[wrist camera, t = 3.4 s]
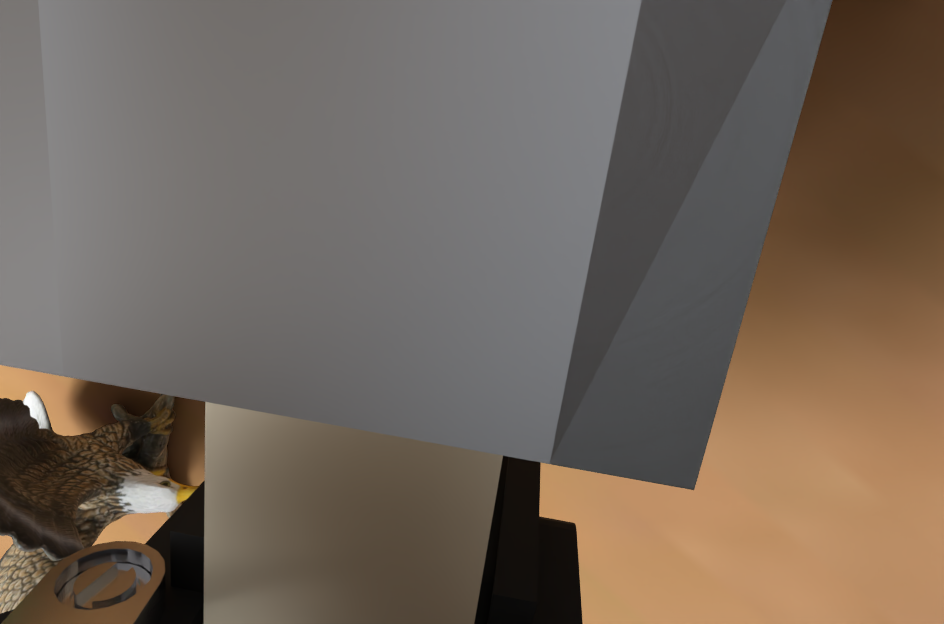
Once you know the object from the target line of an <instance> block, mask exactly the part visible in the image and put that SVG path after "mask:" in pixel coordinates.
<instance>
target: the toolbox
mask: <svg viewBox="0 0 944 624" xmlns="http://www.w3.org/2000/svg"><path fill="white" fill-rule="evenodd" d="M831 3H832V0H0V365H4V366H9V367H15V368H21V369H26V370H32V371H37V372H43V373H48V374H54V375H59V376H65V377H70V378H76V379H81V380H87V381H93V382H98V383H104V384H109V385H115V386H120V387H126V388H131V389H137V390H142V391H148V392H154V393H159V394H165V395H170V396H176V397H181V398H187V399H192V400H198V401H203V402H209V403H214V404H220V405H226V406H231V407H237V408H242V409H248V410H253V411H259V412H264V413H270V414H275V415H281V416H287V417H292V418H298V419H303V420H309V421H314V422H320V423H325V424H331V425H336V426H342V427H347V428H353V429H359V430H364V431H370V432H375V433H381V434H386V435H392V436H397V437H403V438H408V439H414V440H419V441H425V442H431V443H436V444H442V445H447V446H453V447H458V448H464V449H469V450H475V451H480V452H486V453H492V454H497V455H503V456H508V457H514V458H519V459H525V460H530V461H536V462H541V463H547V464H552V465H558V466H564V467H569V468H575V469H580V470H586V471H591V472H597V473H602V474H608V475H613V476H619V477H624V478H630V479H636V480H641V481H647V482H652V483H658V484H663V485H669V486H674V487H680V488H685V489H691V490H694V488H695V485H696V481H697V478H698V474H699V471H700V467H701V464H702V460H703V456H704V453H705V449H706V446H707V442H708V439H709V435H710V432H711V428H712V425H713V421H714V418H715V414H716V410H717V407H718V403H719V400H720V396H721V393H722V389H723V386H724V382H725V379H726V375H727V372H728V368H729V364H730V361H731V357H732V354H733V350H734V347H735V343H736V340H737V336H738V333H739V329H740V326H741V322H742V318H743V315H744V311H745V308H746V304H747V301H748V297H749V294H750V290H751V287H752V283H753V280H754V276H755V272H756V269H757V265H758V262H759V258H760V255H761V251H762V248H763V244H764V241H765V237H766V234H767V230H768V226H769V223H770V219H771V216H772V212H773V209H774V205H775V202H776V198H777V195H778V191H779V188H780V184H781V180H782V177H783V173H784V170H785V166H786V163H787V159H788V156H789V152H790V149H791V145H792V142H793V138H794V134H795V131H796V127H797V124H798V120H799V117H800V113H801V110H802V106H803V103H804V99H805V95H806V92H807V88H808V85H809V81H810V78H811V74H812V71H813V67H814V64H815V60H816V57H817V53H818V49H819V46H820V42H821V39H822V35H823V32H824V28H825V25H826V21H827V18H828V14H829V11H830V7H831Z"/></svg>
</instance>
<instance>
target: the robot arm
mask: <svg viewBox="0 0 944 624" xmlns="http://www.w3.org/2000/svg"><path fill="white" fill-rule="evenodd" d="M539 498H540V462H536V461H530V460H525V459H519V458H514V457H508V456H503V459H502V465H501V470H500V476H499V482H498V488H497V494H496V499H495V505H494V511H493V517H492V523H491V529H490V534H489V540H488V546H487V552H486V558H485V563H484V569H483V575H482V581H481V587H480V593H479V598H478V604H477V610H476V616H475V622H474V624H582V610H581V594H580V579H579V563H578V548H577V532H576V525H575V524H574V523H571V522H566V521H560V520H555V519H549V518H544V517H539ZM204 506H205V480H204V482H203V483H202V484H201V485H200V486H199V487H198V488H197V489H196V490H195V491H194V492H193V493H192V494H191V495H190V496H189V498H188V499H187V500H186V501H185V502H184V503H183V504H182V505H181V506H180V507H179V508H178V509H177V510H176V511H175V513H174V514H173V515H172V516H171V517H170V518H169V519H168V520H167V521H166V522H165V523H164V524H163V525H162V526H161V528H160V529H159V530H158V531H157V532H156V533H155V534H154V535H153V536H152V537H151V538H150V539H149V540H148V541H147V543H146V544H141V543H137V542H128V541H115V542H109V543H102V544H97V545H94V546H91V547H88V548H85V549H82V550H79V551H77V552H76V553H74V554H72V555H70V556H68V557H66V558H65V559H63V560H62V561H60V562H59V563H58V564H57V565H56V566H55V567H53V568H52V569H51V570H50V571H49V572H48V573H47V574H46V575H45V576H44V577H43V578H42V580H41V581H40V582H39V583H38V584H37V585H36V586H35V587H34V588H33V589H32V590H31V591H30V593H29V594H28V595H27V596H26V597H25V598H24V599H23V600H22V601H21V602H20V603H19V605H18V606H17V607H16V608H15V609H13V610H10V611H7V612H4V613H0V624H204Z"/></svg>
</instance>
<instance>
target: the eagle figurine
mask: <svg viewBox="0 0 944 624" xmlns="http://www.w3.org/2000/svg"><path fill="white" fill-rule="evenodd" d="M174 399H175V396H170V395H165V394H161V395H160V397H159V398H158V399H157V400H156V401H155V403H154V405H153V406H152V407H151V408H150V409H149V410H148V411H147V412H146V413H145V414H144V415H143V416H141V417H136V416H134V415H131V414H128V413H127V410H126V408H125V407H124V406H122V405H119V404H113V405H112V406H111V411H112V413H113V416H114V417H115V419H116V420H118V421H119V422H117V423H114V424H109V425H105V426H103V427H101V428H99V429H96V430H95V431H94V432H92V433H85V434H82V435H77V436H62V435H58V434H56V433H54V431H53V430H52V427H51V423H50V420H49V417H48V414H47V411H46V408H45V406H44V403H43V401H42V399H41V398H40V396H39V395H38V394H37V393H36V392H34V391H31V392H28V393H27V394H26V397H25V399H24V400H23V401H21V400H15V401H12V400H10V399H7V398H4V399H2V398H0V535H2V536H4V535H8V536H10V537H12V539H13V543H14V544H13V545H12V546H11V547H10V548H9V549H8V550H7V551H6V553H5V554H4V556H3V557H2V558H1V560H0V613H4V612H7V611H10V610H13V609H15V608H16V607H17V606H18V605H19V603H20V602H21V601H22V600H23V599H24V598H25V597H26V596H27V595H28V594H29V593H30V591H31V590H32V589H33V588H34V587H35V586H36V585H37V584H38V583H39V582H40V581H41V580H42V578H43V577H44V576H45V575H46V574H47V573H48V572H49V571H50V570H51V569H52V568H53V567H55V566H56V565H57V564H58V563H59V562H60V561H62V560H63V559H65V558H66V557H68V556H70V555H72V554H74V553H76V552H77V551H79V550H82V549H85V548H88V547H91V546H92V545H93V544H94V542H95V541H96V540H97V538H98V536H99V535H100V533H101V532H102V531H103V529H104V528H105V527H106V526H107V525H109V524H110V523H112V522H114V521H116V520H118V519H120V518H121V517H123V516H125V515H127V514H134V513H155V512H166V514H167V516H168V518H170V517H171V516H172V515H173V514H174V513H175V511H176V510H177V509H178V508H179V507H180V506H181V505H182V503H181V502H182V501H184V500H186V499H188V498H189V496H190V495H191V494H192V493H193V492H194V491H195V490H196V489H197V488H198V487H199V486H187V485H182V484H180V483H177V482H175V481H173V480H172V479H171V477H170V474H169V468H168V467H167V465H166V464H167V456H168V451H167V444H168V440H169V435H170V433H171V432H172V431H173V427H172V425H171V422H173V420H174V419H175V412H174V411H173V410H172V408H173V406H174Z"/></svg>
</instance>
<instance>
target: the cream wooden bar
mask: <svg viewBox="0 0 944 624" xmlns="http://www.w3.org/2000/svg"><path fill="white" fill-rule="evenodd" d="M502 459H503V455H497V454H492V453H486V452H480V451H475V450H469V449H464V448H458V447H453V446H447V445H442V444H436V443H431V442H425V441H419V440H414V439H408V438H403V437H397V436H392V435H386V434H381V433H375V432H370V431H364V430H359V429H353V428H347V427H342V426H336V425H331V424H325V423H320V422H314V421H309V420H303V419H298V418H292V417H287V416H281V415H275V414H270V413H264V412H259V411H253V410H248V409H242V408H237V407H231V406H226V405H220V404H214V403H209V402H205V506H204V624H474V622H475V616H476V610H477V604H478V598H479V593H480V587H481V581H482V575H483V569H484V563H485V558H486V552H487V546H488V540H489V534H490V529H491V523H492V517H493V511H494V505H495V499H496V494H497V488H498V482H499V476H500V470H501V465H502Z"/></svg>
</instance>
